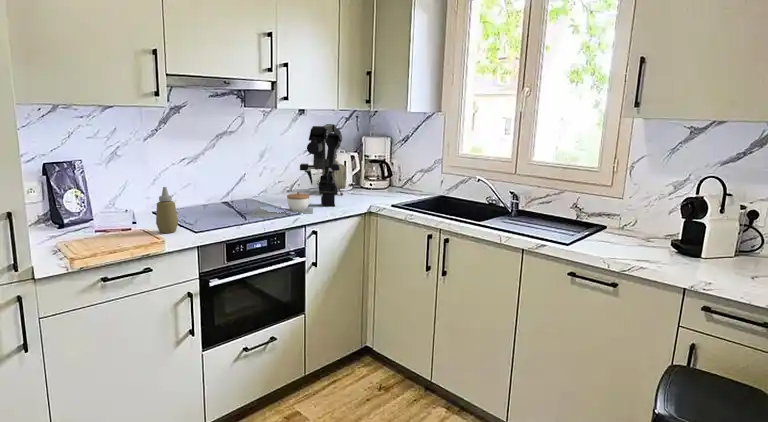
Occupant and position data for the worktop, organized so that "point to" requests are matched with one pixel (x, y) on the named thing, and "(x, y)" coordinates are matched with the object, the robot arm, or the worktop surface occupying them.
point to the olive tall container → (339, 176)
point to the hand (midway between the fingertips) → (319, 184)
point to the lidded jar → (298, 202)
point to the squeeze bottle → (166, 213)
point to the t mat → (265, 213)
